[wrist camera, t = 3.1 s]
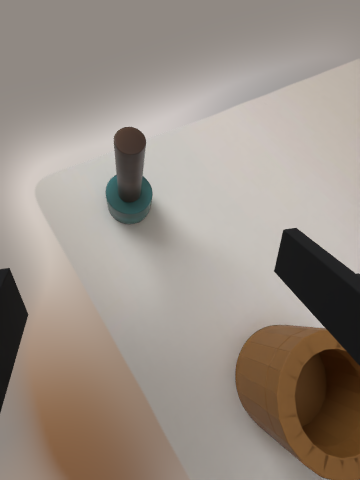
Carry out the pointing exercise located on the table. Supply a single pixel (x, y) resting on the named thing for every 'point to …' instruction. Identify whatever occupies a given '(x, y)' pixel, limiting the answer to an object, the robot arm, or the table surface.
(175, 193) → the table surface
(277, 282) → the table surface
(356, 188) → the table surface
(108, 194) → the wooden peg on base
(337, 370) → the wooden pot
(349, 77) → the table surface
